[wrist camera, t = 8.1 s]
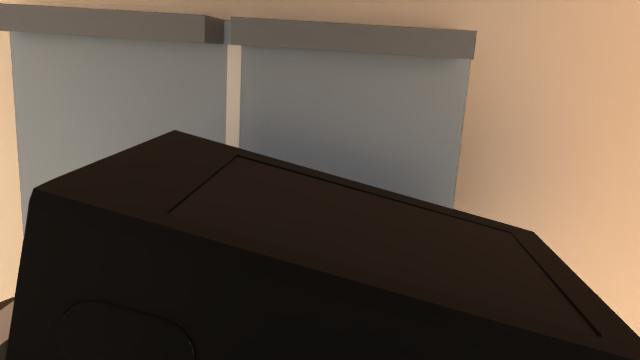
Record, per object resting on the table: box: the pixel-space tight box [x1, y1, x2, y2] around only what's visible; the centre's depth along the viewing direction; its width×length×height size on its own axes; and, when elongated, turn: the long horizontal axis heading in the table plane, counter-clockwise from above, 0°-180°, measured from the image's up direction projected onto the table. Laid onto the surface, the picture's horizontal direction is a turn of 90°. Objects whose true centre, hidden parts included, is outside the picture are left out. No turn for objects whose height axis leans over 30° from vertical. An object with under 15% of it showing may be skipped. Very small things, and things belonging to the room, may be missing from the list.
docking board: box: [0, 3, 477, 234], centre depth 24 cm, size 20×18×4 cm
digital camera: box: [5, 130, 640, 360], centre depth 12 cm, size 10×5×7 cm, turn 74°
